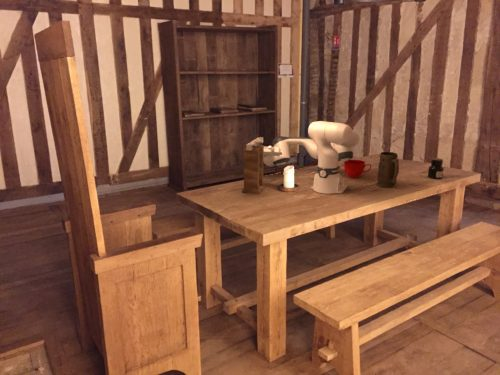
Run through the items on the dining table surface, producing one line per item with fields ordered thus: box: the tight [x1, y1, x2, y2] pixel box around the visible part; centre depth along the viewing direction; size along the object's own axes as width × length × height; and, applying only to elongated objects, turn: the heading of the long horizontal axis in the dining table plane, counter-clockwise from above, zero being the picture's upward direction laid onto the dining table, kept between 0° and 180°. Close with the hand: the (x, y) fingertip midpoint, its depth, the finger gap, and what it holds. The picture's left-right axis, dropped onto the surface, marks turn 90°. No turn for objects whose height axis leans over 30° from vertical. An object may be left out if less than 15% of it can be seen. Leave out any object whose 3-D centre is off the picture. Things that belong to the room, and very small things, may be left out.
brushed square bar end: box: [245, 136, 264, 151], centre depth 246 cm, size 26×3×3 cm, turn 165°
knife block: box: [241, 142, 266, 195], centre depth 247 cm, size 13×10×27 cm
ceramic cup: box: [343, 159, 372, 179], centre depth 280 cm, size 13×17×10 cm
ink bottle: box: [427, 157, 444, 180], centre depth 280 cm, size 10×9×12 cm
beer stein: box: [376, 151, 400, 189], centre depth 258 cm, size 15×11×20 cm
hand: (262, 146), depth 265 cm, fingers open, 8 cm apart
